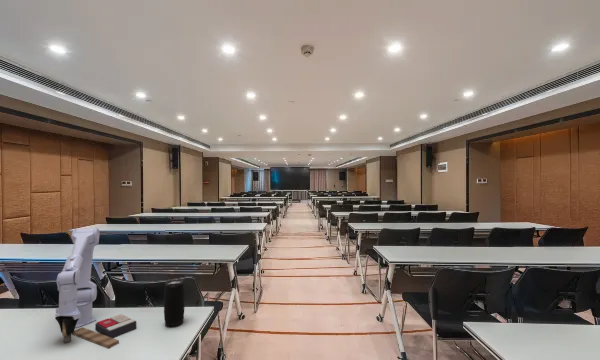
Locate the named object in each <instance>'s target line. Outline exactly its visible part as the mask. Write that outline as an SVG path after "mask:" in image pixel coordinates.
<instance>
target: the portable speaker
mask: <svg viewBox="0 0 600 360" xmlns="http://www.w3.org/2000/svg"><path fill="white" fill-rule="evenodd" d="M163 295H164V296H163V299H164V300H163V318H164V324H165V325H164V326H165V328H169V327H170V326H171V327H172V326H175V327H179V326H181V325H183V324H184V320H185V319H184V317H185V303H186V302H185V298H186V297H185V283H184V278H183V279H182V278H179V279H168V280H167V281H165V285H164V294H163Z"/></svg>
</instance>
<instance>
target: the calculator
mask: <svg viewBox="0 0 600 360" xmlns="http://www.w3.org/2000/svg"><path fill="white" fill-rule="evenodd" d="M94 326H95V328H94V329H95V332H97V333H100V334H103V335H106V336H108V337H111V338H114V339H116V338H117V337H120V336H122V335H125V334H127V333H130V332H132V331H135V330H137V321H136V320H135V319H133V318H131V317H129V316H127V315H125V314H122V313H120V314H117V315H114V316H112V317H109V318H105V319H103V320H99V321H96V323H95V325H94Z"/></svg>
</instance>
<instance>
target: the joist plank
mask: <svg viewBox="0 0 600 360" xmlns="http://www.w3.org/2000/svg"><path fill="white" fill-rule="evenodd" d="M73 335H74V336H75V335H76V337H78V338H80V337H81V338H80V339H83V340H86V341H88V342H91V343H94V344H96V345H99V346H101V347H104V348H106V349H111V348H113V347H114V346H117V345H118V344H120V340H119V339H116V338H111V337H108V336H106V335H103V334H101V333H99V332H98V331H94V330H92V329H88V328H86V327H82V326H81V327H78V329H74V333H73V334H72V336H73Z"/></svg>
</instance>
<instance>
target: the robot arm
mask: <svg viewBox="0 0 600 360" xmlns="http://www.w3.org/2000/svg"><path fill="white" fill-rule="evenodd" d="M100 234H101V233H100V228H98V227H90V228H74V229H73V230H72V232H71V241H72V243H73V247H72V252H71V255H69V256H68V257H67V258H66V259H65V260H66V261H65V262H64V265H63V268H62V270H61V272H59V273H58V274H57V277H56V285H57V286H56V287H57V291H58V293H59V294H58V307H56V308H55V316H54V318H55V321H56V322H57V323H58V326H59V328H60V332H61V334H62V331H63V323H64V325H65V329H66V335H67V336H68V335H70V334H71V335H73V333H74V331H75V330H76V328H81V327H82V326H85V325H88V324H90V323H92V322H95V321H97V318H94V317H93V302H94V301H95V300H96V299H97V295H98V289H97V287H98V286H97V284H96V283H94V282H93V281H91V279H92V277H91V276H92V267H93V257H94V250H95V247H96V246H98V245H99V242H100Z"/></svg>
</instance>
